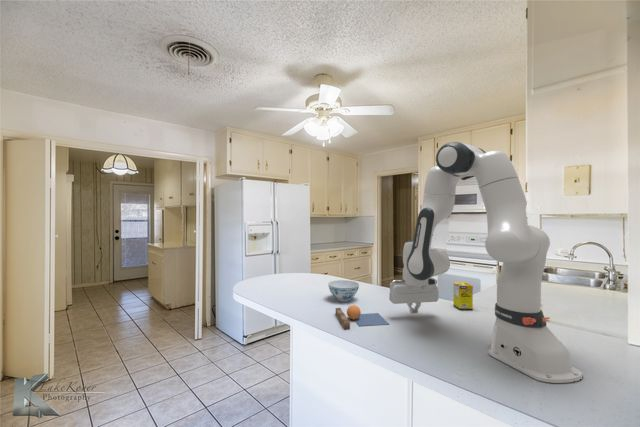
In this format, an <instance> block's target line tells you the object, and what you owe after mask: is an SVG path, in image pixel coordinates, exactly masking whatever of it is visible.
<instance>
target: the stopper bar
mask: <svg viewBox="0 0 640 427" xmlns="http://www.w3.org/2000/svg"><path fill="white" fill-rule="evenodd" d="M335 316H336V317H337V319H338V321H339V323H340V325H342V328H343V329H344V330H351V322H350V320H349V319H348V317H347V315H346V314H345V313H344V312H343V310H342V309H341V307H336V308H335Z"/></svg>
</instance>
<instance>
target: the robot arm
mask: <svg viewBox="0 0 640 427" xmlns="http://www.w3.org/2000/svg"><path fill="white" fill-rule="evenodd" d="M435 162H436V165H435V166H432V167H431V168H430V169H428V172H427V175H426V179H425V183H424V187H423V188H424V189H423V199H422V205H421V209H420V211H419V213H418V215H417V218H416V223H415V228H414V235H413V240H407V241H406V242H405V243H404V245H403V249H402V263H403V268H402V279H393V280H392V281H391V282H390V283H389V296H388V297H389V298H388V300H389V302H391V303H392V304H393V305H394V304H395V305H397V304H406V305H407V307H408V309H409V314H410V315H411V314H419V309H420V307H421V305H422V303H436V302H438V301H439V298H440V297H439V296H440V294H439V293H440V291H439V287H438V280H437V279H436V278H433V277H437V276H439V275H442V274H446V273H447V272H448V271H449V269H450V265H451V261H450V258H449V256H448V254H447V253H445V252H444V251H443V250H439V249H436V248H434V247H432V241H433V234H434V232H435V229H436V227H437V225H438V224H439V223H441V222H442V221H443V220H445V219H447V217H449V216H450V215H451V214H452V212H453V210H454V207H455V202H456V190H457V189H456V187H457V183H458V182H460V180H462V181H466V180H469V179H472V178H475V180H476V182H477V185H478V190H479V192H480V197H481V199H482V201H483V206H484V208H485V214H486V219H487V220H486V222H487V236H486V238H485V242H484V243H485V244H484V245H485V246H484V247H485V250H486V252H487V254H488V255H489V257H490V258H492V259H493V260H495V262H496V261H497V262H499V263H502V266H501V270H500V272H499V274H498V276H497V279H496V303H495V305H494V316H495V322H494V325H493V329H492V338H491V344H490V345H489V346H490V347H489V350H488V355H489V356H491V357H493V359H494V358H495V359H496V360H498V361H501V362H503V363H504V364H506V365H508V366H509V367H512V368H514V369H515V370H517V371H519V372H521V373H523V374H525V375H526V376H528V377H531V378H533V379H534V380H536V381H539V382H544V383H553V384H566V383H573V382H574V381H575V382H578V381H580V379H581V380H582V379H583V378H584V374H583V371H581V370H579V369H578V368H576V367H575V366H573V365H572V361H571V355H570V352H569V350H568V348H567V347H566V346H565V345H564V344H563V343H562V341H560V339H558V337H557V336H556V335H555V334H554V332H552V330H550V328H548V326H547V322H550V320H549V319H550V317H545V315H544V312H543V310H542V309H541V306H542V305H541V304H542V303H541V302H542V299H541V298H542V282H543V275H544V271H545V267H546V261H547V255H548V251H549V248H550V245H551V241H550V237H549V235H548V234H547V232H546V231H544V230H542V229H540V228H539V227H537V226H534V225H531V224H529V223H528V219H527V218H528V217H527V204H528V201H527V199H526V195H525V193H524V192H525V191H524V189H523V186H522V184H521V182H520V179H519V176H518V173H517V171H516V169H515V166H514V165H513V163H512V161H511V159H510V157H508V155H507V153H505V152H504V151H501V150H490V151H485V150H483V148H481V147H476V146H475V145H474V146H473V145H472V144H469V143H463V142H459V141H451V142H448V143H447V142H446V143H445V144H443V145H442V146H441V147H440V148H439V149H438V151H437V152H436V156H435ZM413 304H415V306H414V307H412V306H413ZM582 377H583V378H582Z"/></svg>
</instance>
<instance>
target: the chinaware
mask: <svg viewBox="0 0 640 427" xmlns="http://www.w3.org/2000/svg"><path fill="white" fill-rule="evenodd" d="M359 286H360V284H359V282H356V281H353V280H347V279H344V280H343V279H341V280H340V279H339V280H338V279H337V280H331V281H330V282H328V289H329V292H330V293H331V295H332V296H333V297H334V298H336V300H337V301H339V302H343V303H345V302H346V303H347V302H350V301H351V299H352V298H353V297H355V295H357V293H358V291H359V289H360V288H359Z"/></svg>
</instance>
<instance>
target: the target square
mask: <svg viewBox="0 0 640 427" xmlns="http://www.w3.org/2000/svg"><path fill="white" fill-rule="evenodd" d="M354 322H355V323H356V324H357V326H358V327H373V326H387V325H390V323H389V322H388V321H387V320H386V319H385V318H384V317H383V316H382V315H381V314H380V313H378V312H376V313H375V312H374V313H371V312H370V313H361V314H360V317H359V318H358V319H355V320H354Z"/></svg>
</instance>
